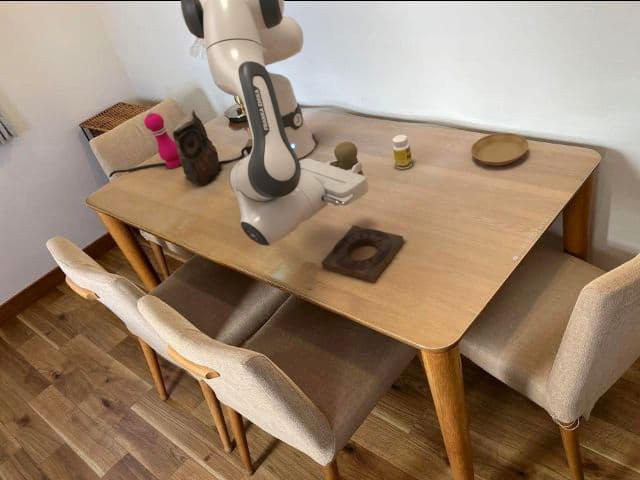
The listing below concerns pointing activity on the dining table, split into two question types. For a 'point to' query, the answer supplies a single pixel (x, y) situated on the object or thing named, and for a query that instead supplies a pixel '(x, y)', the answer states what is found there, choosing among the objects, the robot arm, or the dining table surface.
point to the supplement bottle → (402, 152)
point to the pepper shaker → (346, 155)
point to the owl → (196, 150)
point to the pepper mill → (162, 139)
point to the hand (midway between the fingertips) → (351, 162)
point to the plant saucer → (499, 148)
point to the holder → (367, 267)
